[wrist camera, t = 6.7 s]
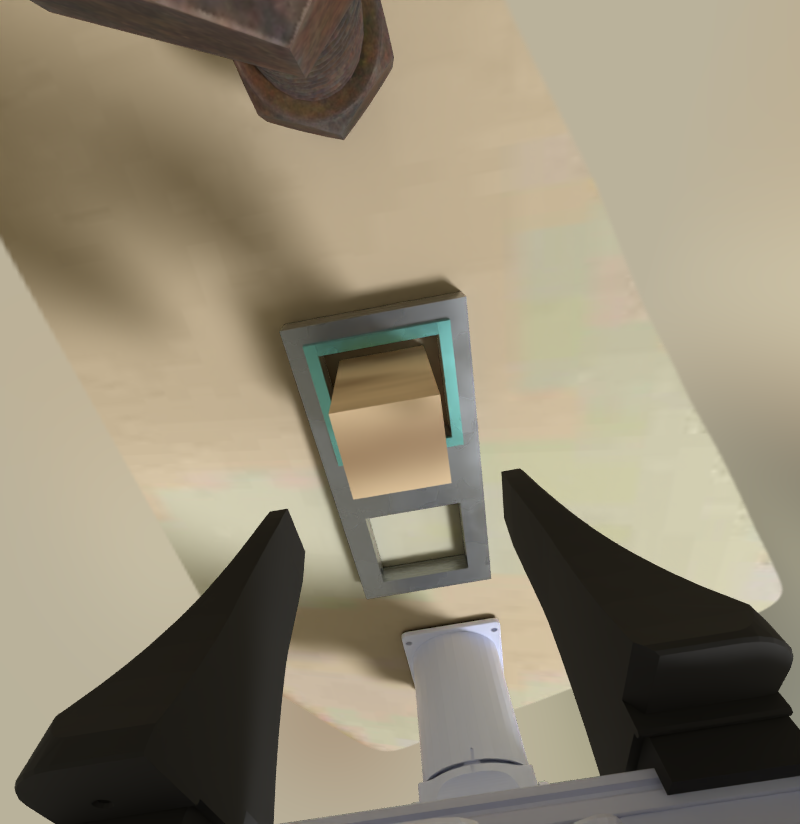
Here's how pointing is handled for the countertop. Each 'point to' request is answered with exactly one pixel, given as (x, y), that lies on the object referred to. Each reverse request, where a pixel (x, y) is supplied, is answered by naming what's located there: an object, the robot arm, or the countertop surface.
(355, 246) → the countertop surface
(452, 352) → the grey peg insertion board
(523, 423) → the countertop surface
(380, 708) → the countertop surface
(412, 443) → the oak block
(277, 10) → the bolt
